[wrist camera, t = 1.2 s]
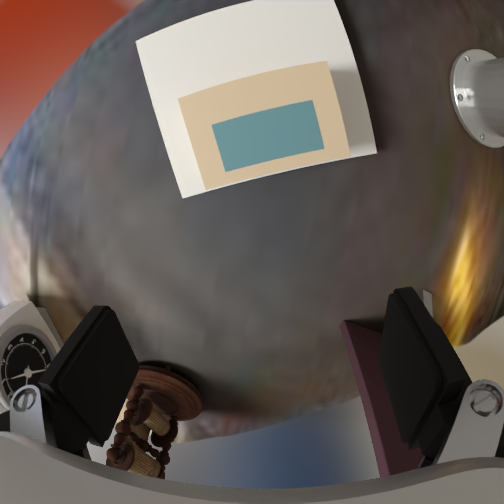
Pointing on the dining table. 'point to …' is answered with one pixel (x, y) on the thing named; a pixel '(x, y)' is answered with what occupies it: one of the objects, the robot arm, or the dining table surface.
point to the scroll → (152, 420)
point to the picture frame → (379, 399)
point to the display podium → (248, 67)
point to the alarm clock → (24, 347)
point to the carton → (265, 124)
